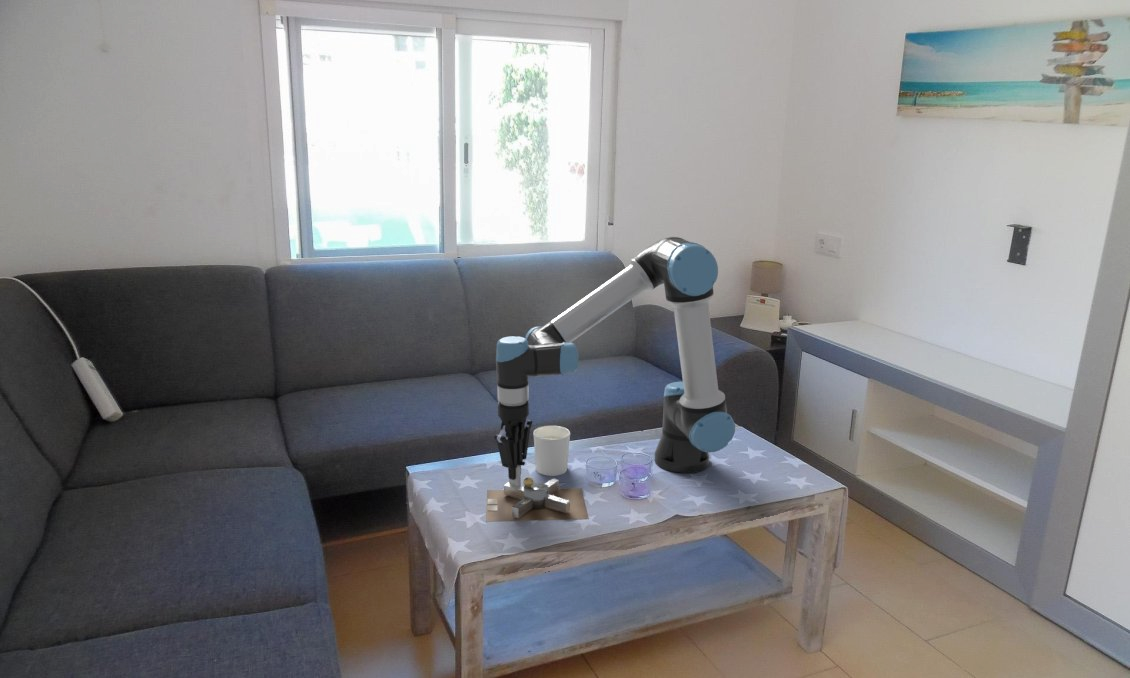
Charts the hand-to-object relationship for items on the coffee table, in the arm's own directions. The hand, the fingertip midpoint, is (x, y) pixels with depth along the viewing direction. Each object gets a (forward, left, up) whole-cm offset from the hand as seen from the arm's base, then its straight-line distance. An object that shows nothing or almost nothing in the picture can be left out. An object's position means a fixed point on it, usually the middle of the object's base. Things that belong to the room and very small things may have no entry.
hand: (515, 489), depth 194 cm
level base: (-5, +5, -3) cm, 8 cm away
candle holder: (-10, -15, -3) cm, 18 cm away
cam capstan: (-5, +5, -1) cm, 7 cm away
